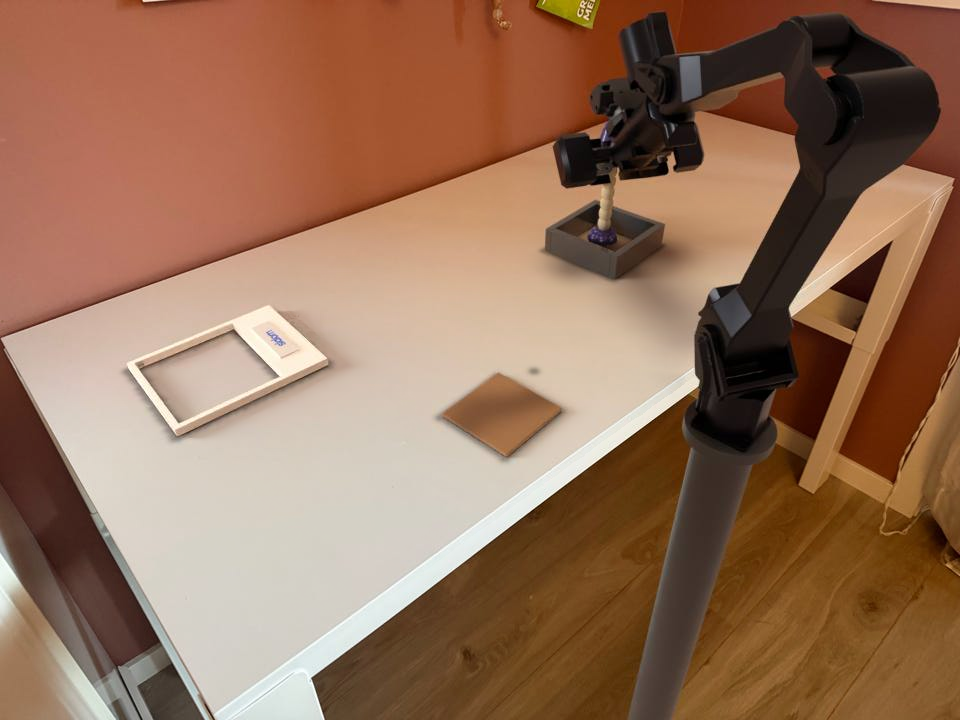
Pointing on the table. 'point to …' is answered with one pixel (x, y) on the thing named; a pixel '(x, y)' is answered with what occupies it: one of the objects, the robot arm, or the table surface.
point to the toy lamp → (605, 208)
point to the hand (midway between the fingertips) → (606, 178)
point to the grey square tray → (597, 257)
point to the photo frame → (266, 338)
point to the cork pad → (502, 414)
